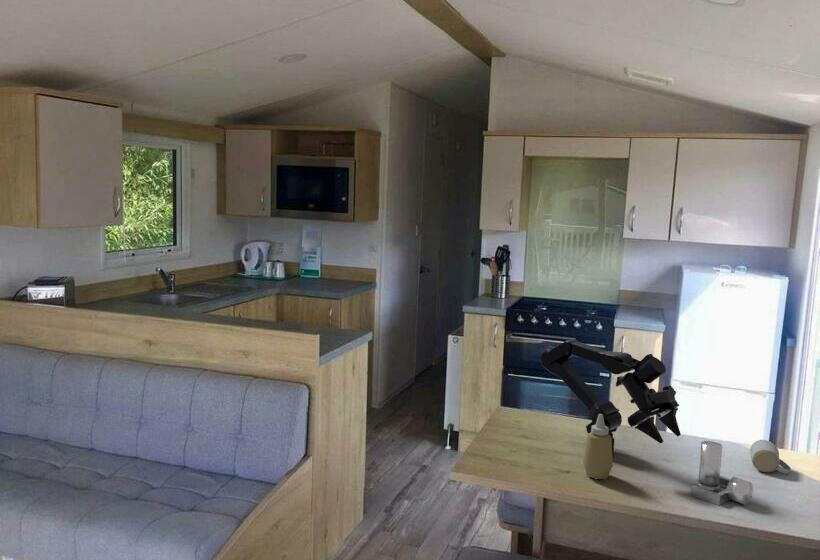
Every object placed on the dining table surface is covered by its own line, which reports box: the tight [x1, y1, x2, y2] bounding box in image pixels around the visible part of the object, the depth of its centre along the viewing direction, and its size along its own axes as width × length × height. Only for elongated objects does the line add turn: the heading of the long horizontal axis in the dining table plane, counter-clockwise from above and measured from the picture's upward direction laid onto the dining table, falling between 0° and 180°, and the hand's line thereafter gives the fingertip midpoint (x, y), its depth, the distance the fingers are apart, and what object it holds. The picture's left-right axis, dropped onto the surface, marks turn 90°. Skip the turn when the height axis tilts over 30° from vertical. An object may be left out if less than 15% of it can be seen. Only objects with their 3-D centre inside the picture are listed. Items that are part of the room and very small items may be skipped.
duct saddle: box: [690, 475, 754, 506], centre depth 180 cm, size 12×13×6 cm
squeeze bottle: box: [582, 414, 614, 480], centre depth 190 cm, size 8×8×18 cm
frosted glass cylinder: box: [696, 440, 723, 493], centre depth 183 cm, size 6×6×13 cm
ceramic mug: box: [749, 439, 792, 475], centre depth 198 cm, size 11×8×8 cm
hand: (670, 439), depth 191 cm, fingers open, 9 cm apart
